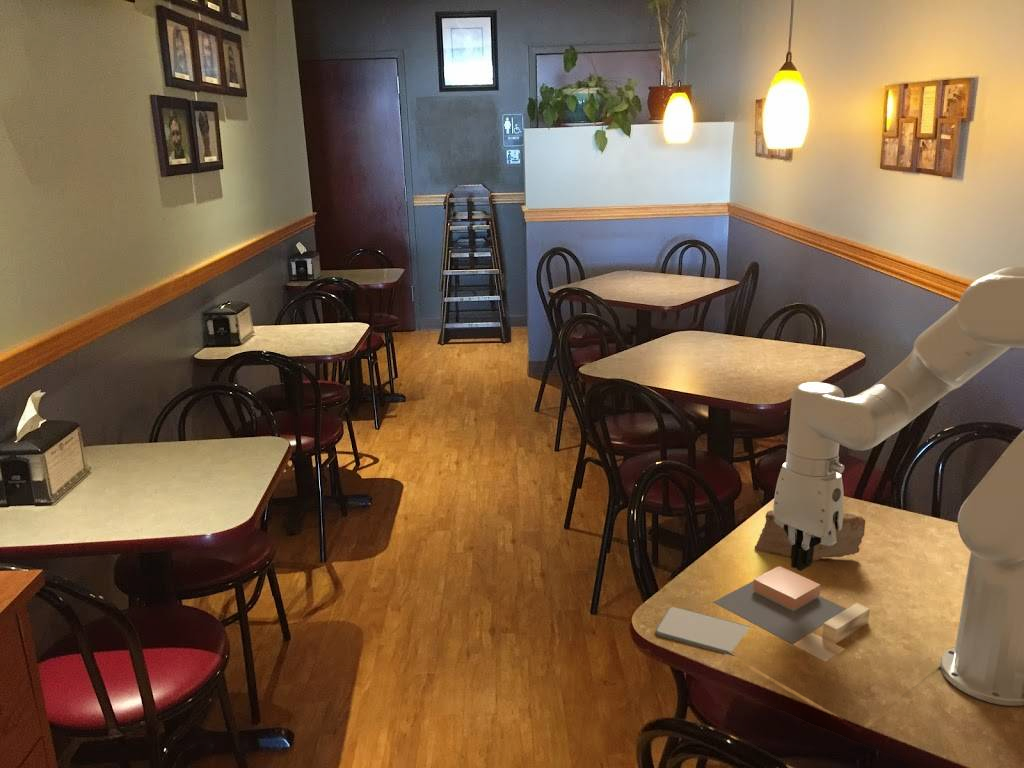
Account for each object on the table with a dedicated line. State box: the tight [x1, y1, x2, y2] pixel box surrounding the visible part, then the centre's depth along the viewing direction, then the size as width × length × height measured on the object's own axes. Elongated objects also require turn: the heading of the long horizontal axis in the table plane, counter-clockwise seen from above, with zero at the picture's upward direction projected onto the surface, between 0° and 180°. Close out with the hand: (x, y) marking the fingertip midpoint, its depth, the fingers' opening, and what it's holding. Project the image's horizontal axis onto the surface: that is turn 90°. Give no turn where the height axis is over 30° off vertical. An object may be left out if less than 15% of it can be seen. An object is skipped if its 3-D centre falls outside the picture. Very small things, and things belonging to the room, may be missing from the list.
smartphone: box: [655, 606, 755, 657], centre depth 130 cm, size 8×1×15 cm
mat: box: [713, 580, 847, 645], centre depth 137 cm, size 15×15×1 cm
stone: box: [754, 509, 866, 562], centre depth 150 cm, size 18×10×4 cm
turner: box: [792, 602, 871, 663], centre depth 128 cm, size 14×6×3 cm, turn 127°
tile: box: [753, 565, 821, 612], centre depth 139 cm, size 2×7×8 cm
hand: (800, 566), depth 136 cm, fingers closed
